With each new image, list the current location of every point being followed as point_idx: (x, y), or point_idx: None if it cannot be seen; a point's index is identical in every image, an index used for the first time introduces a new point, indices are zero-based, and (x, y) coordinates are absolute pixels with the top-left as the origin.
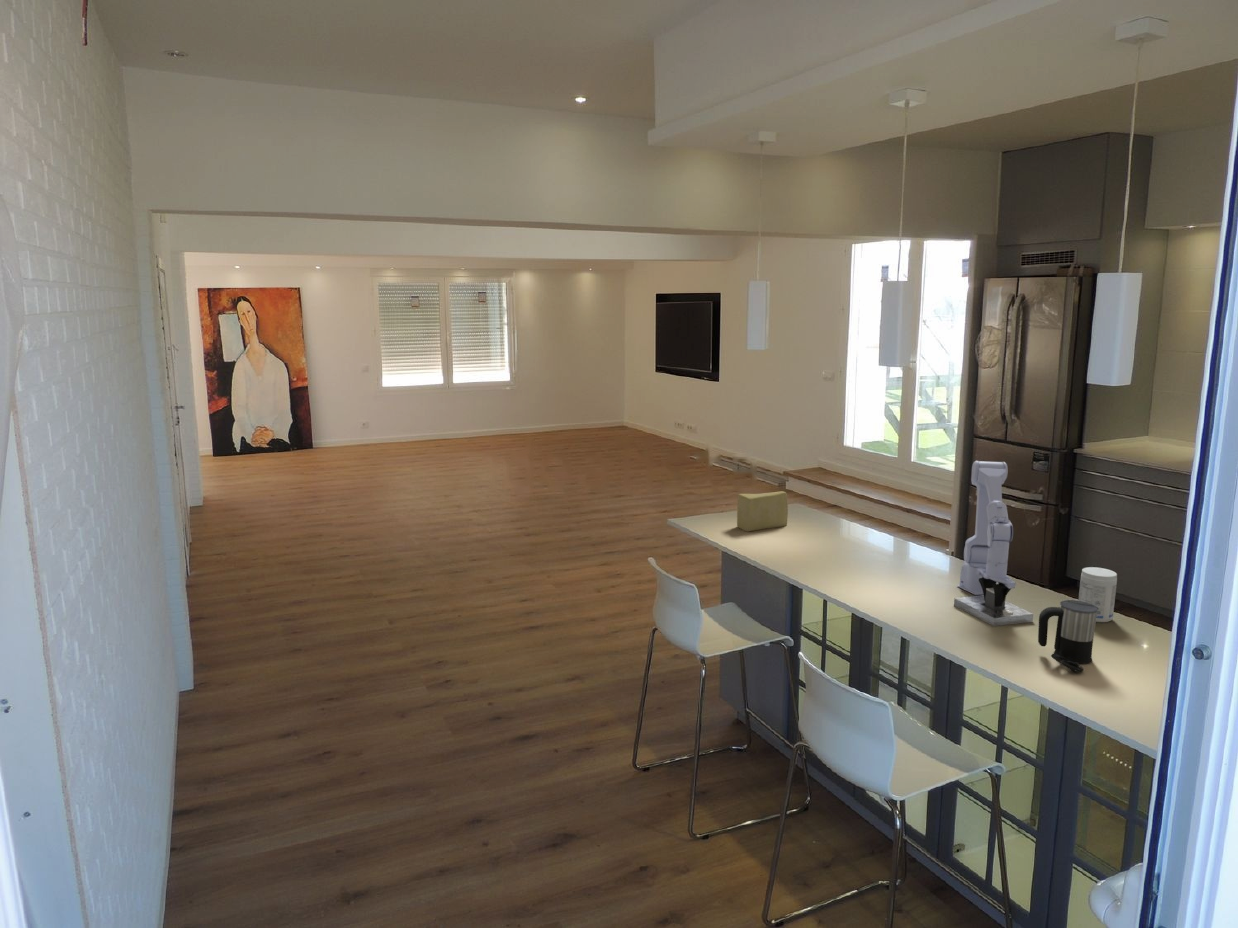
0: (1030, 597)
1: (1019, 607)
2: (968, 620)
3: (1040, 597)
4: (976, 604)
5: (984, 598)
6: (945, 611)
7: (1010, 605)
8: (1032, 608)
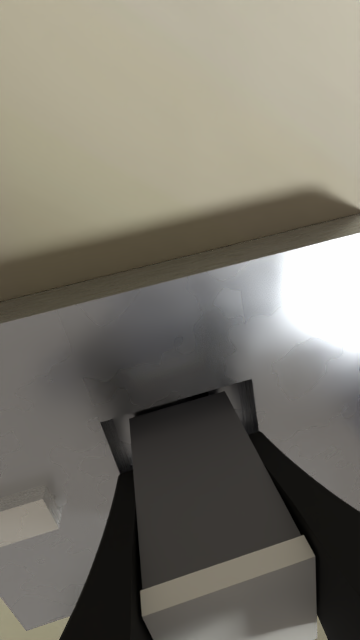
0: None
1: None
2: (13, 164)
3: None
4: (234, 347)
5: (267, 444)
6: (261, 43)
7: None
8: None
